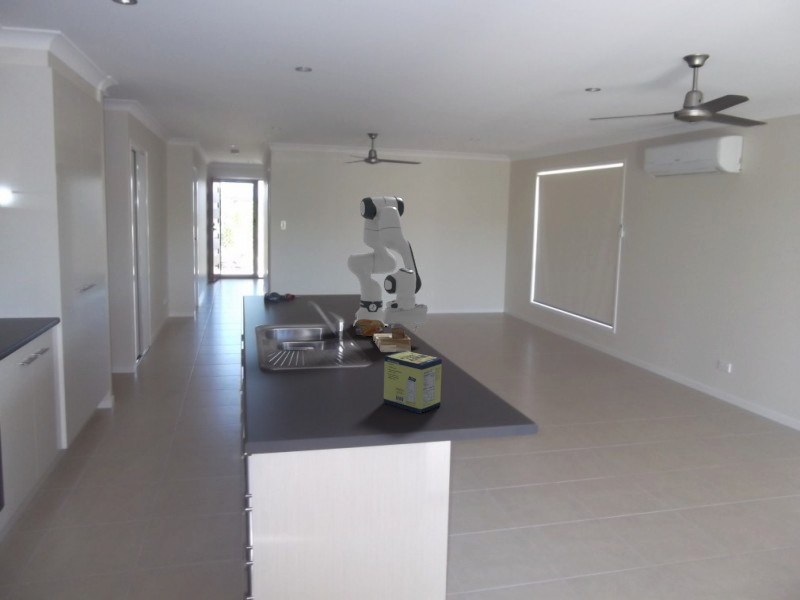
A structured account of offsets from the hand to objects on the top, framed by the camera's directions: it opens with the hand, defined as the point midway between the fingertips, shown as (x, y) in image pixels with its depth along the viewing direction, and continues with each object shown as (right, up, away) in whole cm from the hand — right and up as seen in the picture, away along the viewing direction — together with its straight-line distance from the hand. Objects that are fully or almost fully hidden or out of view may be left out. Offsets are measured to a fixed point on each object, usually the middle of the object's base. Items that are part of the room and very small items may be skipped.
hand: (404, 333), depth 272 cm
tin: (-17, -3, +14) cm, 22 cm away
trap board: (-6, -5, -5) cm, 10 cm away
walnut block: (-3, -2, -3) cm, 5 cm away
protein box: (+1, -18, -86) cm, 88 cm away
